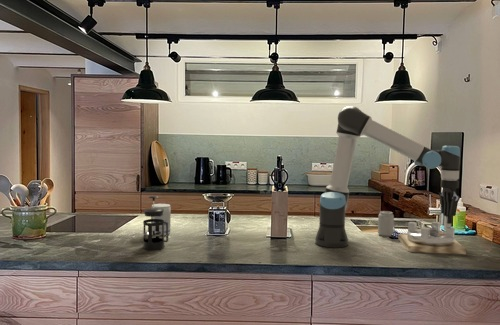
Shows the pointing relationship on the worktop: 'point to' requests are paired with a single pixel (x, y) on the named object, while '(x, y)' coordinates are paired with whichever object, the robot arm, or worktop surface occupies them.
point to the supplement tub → (163, 216)
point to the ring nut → (430, 235)
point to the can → (385, 223)
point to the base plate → (431, 247)
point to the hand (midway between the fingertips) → (447, 229)
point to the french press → (155, 242)
